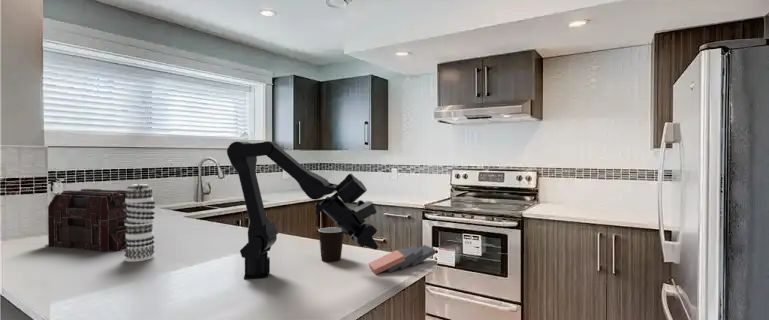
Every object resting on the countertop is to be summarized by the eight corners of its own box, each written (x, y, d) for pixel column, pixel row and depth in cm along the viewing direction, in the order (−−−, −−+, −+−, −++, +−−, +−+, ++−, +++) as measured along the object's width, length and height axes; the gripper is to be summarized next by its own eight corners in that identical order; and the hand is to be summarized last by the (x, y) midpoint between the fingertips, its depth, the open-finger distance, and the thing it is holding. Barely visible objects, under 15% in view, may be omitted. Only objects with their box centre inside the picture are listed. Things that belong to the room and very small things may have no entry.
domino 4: (412, 261, 121) (434, 249, 127) (402, 256, 125) (424, 244, 131) (412, 266, 122) (435, 253, 127) (402, 261, 126) (425, 249, 131)
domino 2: (389, 268, 115) (413, 252, 120) (379, 263, 119) (404, 247, 124) (390, 272, 115) (415, 256, 120) (381, 267, 119) (405, 252, 124)
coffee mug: (339, 263, 124) (339, 233, 124) (314, 262, 126) (314, 231, 125) (349, 254, 135) (349, 226, 135) (326, 253, 137) (326, 225, 137)
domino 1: (374, 269, 113) (403, 255, 116) (368, 263, 118) (397, 249, 121) (375, 274, 113) (405, 260, 117) (369, 267, 118) (398, 254, 121)
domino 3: (400, 265, 118) (422, 249, 124) (390, 261, 121) (411, 245, 127) (402, 269, 118) (423, 253, 124) (391, 265, 122) (412, 249, 128)
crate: (40, 246, 146) (39, 191, 146) (90, 236, 164) (89, 187, 164) (110, 253, 136) (109, 194, 136) (155, 241, 154) (154, 189, 154)
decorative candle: (137, 263, 124) (136, 186, 124) (116, 260, 127) (115, 185, 127) (161, 255, 133) (161, 183, 132) (142, 253, 136) (141, 182, 135)
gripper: (369, 196, 103) (407, 234, 107) (351, 189, 121) (383, 222, 125) (341, 227, 101) (380, 265, 105) (326, 216, 118) (360, 248, 122)
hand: (376, 248), depth 114 cm, fingers closed
